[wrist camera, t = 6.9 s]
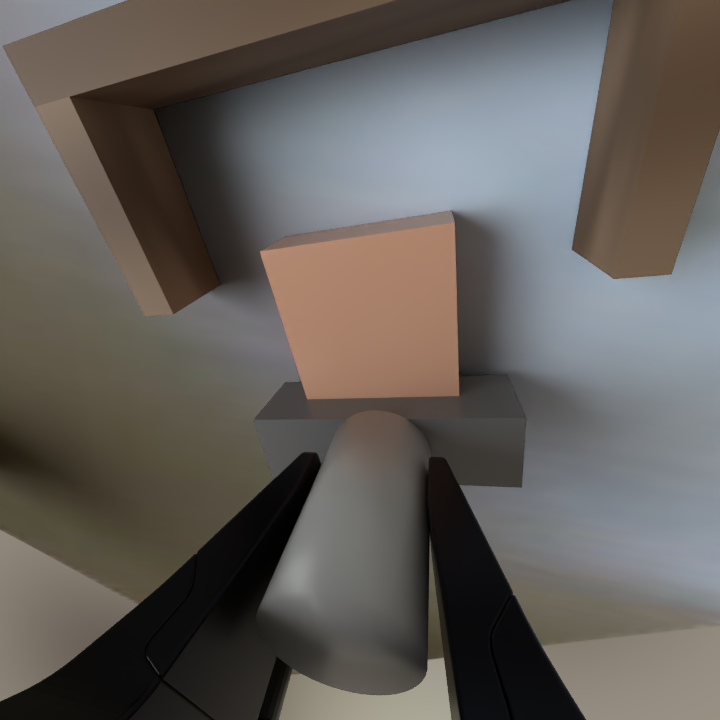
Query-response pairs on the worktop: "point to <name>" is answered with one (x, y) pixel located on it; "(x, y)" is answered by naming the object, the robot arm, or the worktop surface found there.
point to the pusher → (374, 523)
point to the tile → (371, 307)
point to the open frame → (334, 43)
